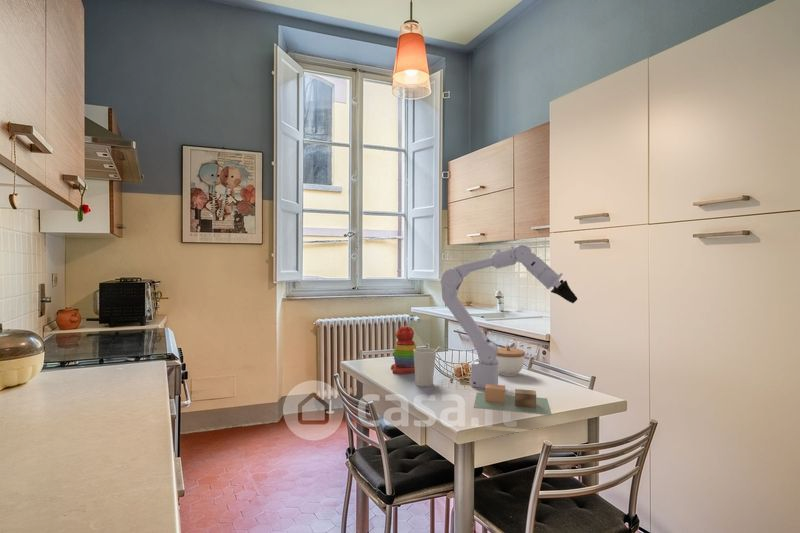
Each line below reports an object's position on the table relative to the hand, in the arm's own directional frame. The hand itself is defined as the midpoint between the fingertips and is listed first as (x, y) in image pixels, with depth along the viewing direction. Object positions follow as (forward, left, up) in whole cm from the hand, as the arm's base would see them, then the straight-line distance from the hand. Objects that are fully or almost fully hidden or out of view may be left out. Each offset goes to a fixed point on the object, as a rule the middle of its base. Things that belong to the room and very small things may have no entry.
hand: (573, 300), depth 150 cm
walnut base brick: (-16, -18, -31) cm, 39 cm away
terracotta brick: (-25, -15, -31) cm, 42 cm away
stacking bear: (-61, +16, -32) cm, 70 cm away
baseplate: (-20, -17, -31) cm, 41 cm away
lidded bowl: (-21, +23, -32) cm, 44 cm away
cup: (-50, -1, -32) cm, 59 cm away
